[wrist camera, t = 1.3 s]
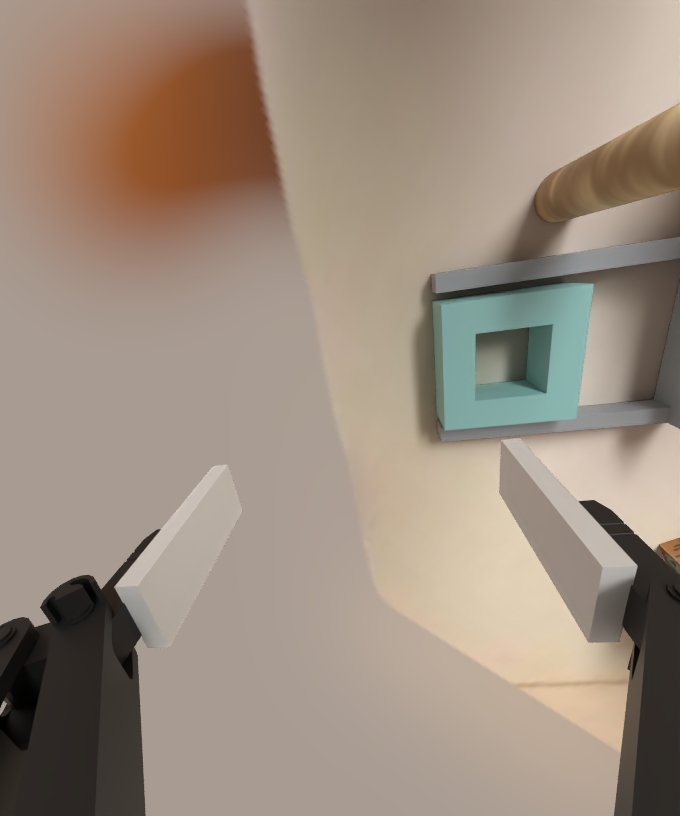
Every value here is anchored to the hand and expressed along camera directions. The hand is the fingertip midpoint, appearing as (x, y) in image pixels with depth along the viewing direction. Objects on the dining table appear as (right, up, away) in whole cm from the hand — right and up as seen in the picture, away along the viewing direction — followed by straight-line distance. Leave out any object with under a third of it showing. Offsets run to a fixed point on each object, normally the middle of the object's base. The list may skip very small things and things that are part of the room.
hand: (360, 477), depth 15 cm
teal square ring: (+14, +8, +16) cm, 22 cm away
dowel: (+16, +20, +11) cm, 28 cm away
